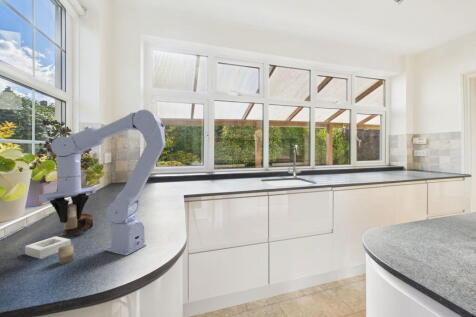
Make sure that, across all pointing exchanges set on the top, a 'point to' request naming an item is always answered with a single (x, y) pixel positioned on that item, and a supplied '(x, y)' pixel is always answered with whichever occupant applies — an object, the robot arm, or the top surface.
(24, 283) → the top surface
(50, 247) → the collar
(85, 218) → the pottery mug
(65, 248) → the short pin
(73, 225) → the long pin
